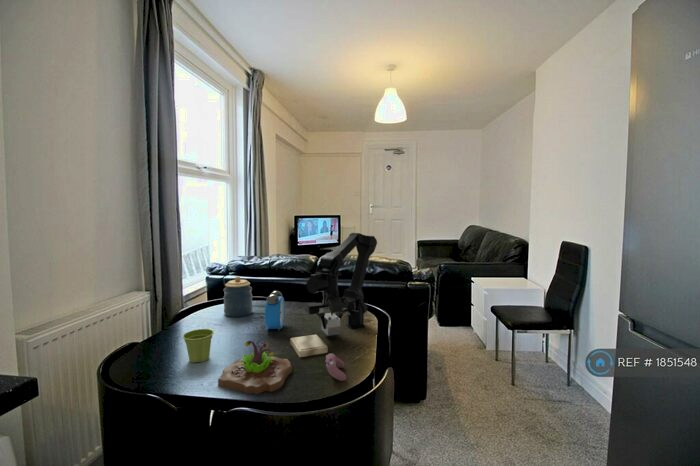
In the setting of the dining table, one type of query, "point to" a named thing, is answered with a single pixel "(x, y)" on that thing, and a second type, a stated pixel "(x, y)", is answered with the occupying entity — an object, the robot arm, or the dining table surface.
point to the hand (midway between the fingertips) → (330, 327)
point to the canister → (237, 298)
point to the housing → (331, 324)
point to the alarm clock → (274, 311)
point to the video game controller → (335, 367)
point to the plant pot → (198, 344)
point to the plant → (256, 372)
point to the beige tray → (308, 345)
